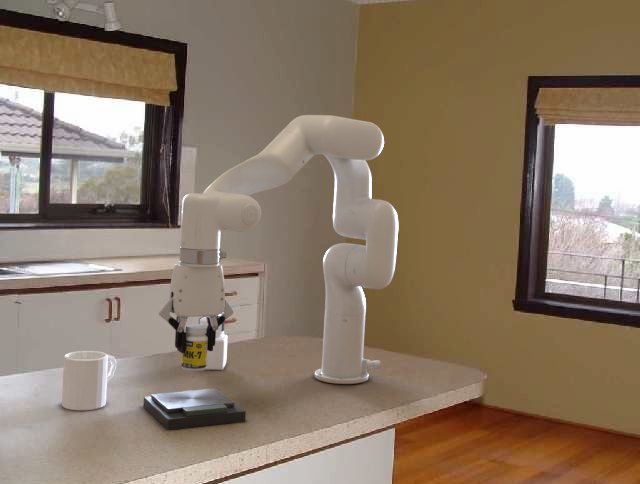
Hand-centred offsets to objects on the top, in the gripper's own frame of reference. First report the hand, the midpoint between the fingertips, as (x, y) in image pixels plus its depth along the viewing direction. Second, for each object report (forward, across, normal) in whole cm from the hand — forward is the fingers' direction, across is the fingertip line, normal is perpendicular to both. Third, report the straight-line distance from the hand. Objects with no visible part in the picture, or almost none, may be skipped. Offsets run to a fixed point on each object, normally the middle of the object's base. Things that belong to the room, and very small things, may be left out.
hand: (194, 349), depth 171 cm
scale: (+12, 0, +1) cm, 12 cm away
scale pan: (+10, 0, 0) cm, 10 cm away
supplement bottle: (+4, 0, 0) cm, 4 cm away
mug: (+13, +16, -13) cm, 24 cm away
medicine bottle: (+13, -16, -35) cm, 40 cm away
